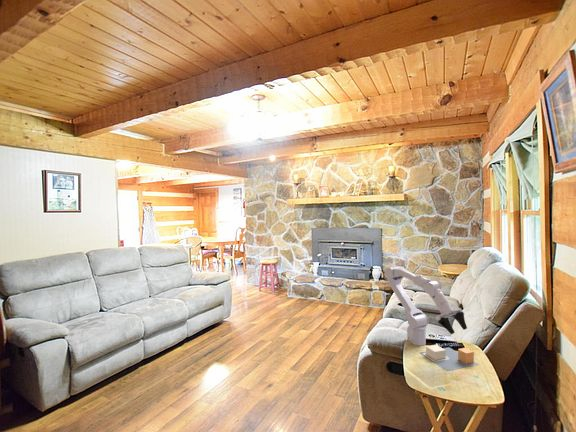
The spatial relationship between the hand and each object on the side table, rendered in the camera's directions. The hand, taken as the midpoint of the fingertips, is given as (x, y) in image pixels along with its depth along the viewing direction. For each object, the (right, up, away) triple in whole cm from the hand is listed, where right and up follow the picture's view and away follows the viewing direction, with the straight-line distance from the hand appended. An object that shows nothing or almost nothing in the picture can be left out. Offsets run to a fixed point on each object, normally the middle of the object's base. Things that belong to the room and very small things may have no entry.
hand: (459, 331), depth 142 cm
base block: (-8, -15, +6) cm, 18 cm away
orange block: (+4, -14, +1) cm, 15 cm away
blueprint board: (-3, -15, +4) cm, 16 cm away
